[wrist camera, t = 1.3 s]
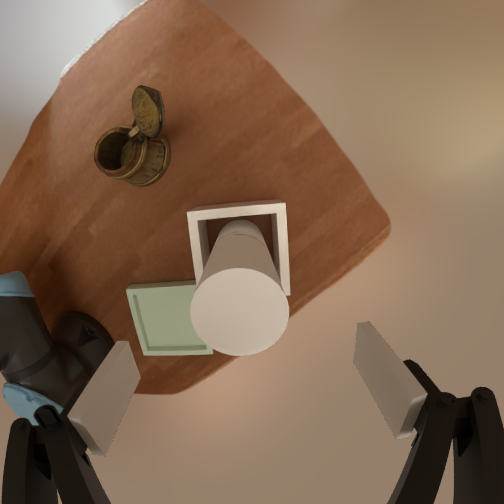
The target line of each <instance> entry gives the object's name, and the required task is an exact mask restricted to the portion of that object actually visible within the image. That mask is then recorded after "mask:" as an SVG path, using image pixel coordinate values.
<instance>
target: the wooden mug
mask: <svg viewBox="0 0 504 504" xmlns="http://www.w3.org/2000/svg"><path fill="white" fill-rule="evenodd" d="M132 110H133V114H134V118H135V120H134V123H133V124H132V126H128V125H124V126H119V127H116V128H113V129H110V130H108V131H107V132H105V133H104V134H103V135H102V136H101V137H100V139H99V140H98V141H97V143H96V146H95V152H94V161H95V163H96V165H97V167H98V168H99V169H100V170H101V171H102V172H103V173H105V174H106V175H107V176H109V177H111V178H113V179H122V180H125V181H127V182H129V183H131V184H133V185H136V186H148V185H150V184H153V183H154V182H156V181H157V180H158V179H159V178H161V176H162V175H163V174H164V173H165V171H166V169H167V168H168V165H169V162H170V148H169V144H168V141H167V139H166V138H165V137H164V136H163V135H162V131H163V127H164V105H163V100H162V96H161V92H160V91H158V90H156V89H153V88H150V87H147V86H142V85H140V86H138V87H137V88H136V89H135V91H134V93H133V97H132Z"/></svg>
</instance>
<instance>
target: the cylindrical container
mask: <svg viewBox="0 0 504 504" xmlns="http://www.w3.org/2000/svg"><path fill="white" fill-rule="evenodd" d="M190 316H191V321H192V325H193V328H194V329H195V331H196V333H197V335H198V336H199V337H200V338H201V339H202V341H203V342H204V343H206V344H207V345H208V346H210V347H211V348H213V349H215V350H217V351H219V352H221V353H224V354H228V355H234V356H246V355H252V354H256V353H259V352H261V351H264V350H265V349H267V348H269V347H270V346H272V345H273V344H274V343H275V342H276V341H277V340H278V339H279V338H280V337H281V335H282V334H283V333H284V330H285V328H286V326H287V323H288V319H289V306H288V301H287V298H286V295H285V293H284V290H283V287H282V285H281V282H280V279H279V277H278V274H277V271H276V269H275V266H274V264H273V261H272V259H271V256H270V253H269V251H268V248H267V246H266V243H265V240H264V238H263V235H262V233H261V231H260V229H259V228H258V227H257V226H256V225H255V224H254V223H252V222H250V221H248V220H243V219H238V220H233V221H231V222H229V223H227V224H226V225H225V226H224V227H223V228H222V229H221V231H220V233H219V235H218V238H217V240H216V242H215V245H214V247H213V249H212V252H211V254H210V256H209V259H208V261H207V264H206V266H205V268H204V271H203V273H202V276H201V278H200V281H199V283H198V286H197V288H196V290H195V293H194V295H193V299H192V302H191V307H190Z"/></svg>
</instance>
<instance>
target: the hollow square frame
mask: <svg viewBox="0 0 504 504" xmlns="http://www.w3.org/2000/svg"><path fill="white" fill-rule="evenodd" d="M259 214H271V225H272V239H273V254H274V266H275V269H276V271H277V274H278V277H279V279H280V282H281V285H282V287H283V290H284V293H285V295H286V296H287V295H290V276H289V255H288V237H287V220H286V205H285V203H284V202H282V201H280V200H278V199H272V200H259V201H247V202H236V203H226V204H216V205H206V206H197V207H195V208H193V209H191V210H190V211H188V212H187V218H188V226H189V234H190V242H191V250H192V257H193V264H194V271H195V278H196V284H197V286H198V283H199V281H200V278H201V276H202V273H203V271H204V268H205V266H206V264H207V261H208V259H209V256H210V252H209V243H208V235H207V226H206V219H216V218H226V217H237V216H248V215H259Z"/></svg>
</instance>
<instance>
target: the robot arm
mask: <svg viewBox="0 0 504 504" xmlns="http://www.w3.org/2000/svg"><path fill="white" fill-rule="evenodd" d="M34 297H35V295H34V294H33V293H32V291H31V289H30V286H29V284H28V281H27V279H26V277H25V275H24V274H23V273H22V272H20V271H12V272H9V273H5V274H2V275H0V371H1V373H2V375H3V376H4V378H5V379H6V381H7V383H5V384H4V387H3V390H2V392H3V395H4V398H5V400H6V402H7V403H8V405H9V406H10V407H11V408H12V410H13V411H14V412H15V413H16V414H17V415H18V416H19V417H20V418H19V419H17V420H15V421H14V422H13V423H12V425H11V429H10V434H9V440H8V445H7V451H6V458H5V466H4V474H3V486H2V504H58V496H57V490H58V493H59V495H60V498H61V501H62V504H111V503H110V501H109V499H108V497H107V495H106V493H105V491H104V490H103V488H102V486H101V484H100V481H99V479H98V478H97V475H96V473H95V471H94V469H93V467H92V465H91V462H90V460H89V457H88V455H87V454H86V453H85V451H86V449H87V447H88V448H89V449H90V451H91V452H92V453H93V454H95V455H99V456H103V457H106V456H107V453H108V451H109V448H110V446H111V444H112V441H113V439H114V437H115V434H116V432H117V429H118V427H119V425H120V423H121V420H122V418H123V416H124V413H125V411H126V409H127V407H128V404H129V402H130V400H131V398H132V395H133V393H134V391H135V389H136V387H137V385H138V383H139V380H140V378H141V377H140V374H139V371H138V368H137V366H136V363H135V360H134V357H133V354H132V351H131V348H130V345H129V341H117V342H116V343H115V345H114V342H113V340H112V338H111V337H110V335H109V333H108V332H107V331H106V330H105V328H104V327H103V326H102V325H101V324H100V323H99V322H97V321H96V320H95V319H93V318H92V317H90V316H88V315H86V314H83V313H80V312H68V313H66V314H64V315H63V316H61V317H60V318H59V319H58V320H57V321H56V322H55V324H54V326H53V329H52V332H51V334H49V331H48V329H47V327H46V325H45V322H44V320H43V318H42V315H41V313H40V310H39V308H38V305H37V303H36V300H35V298H34ZM353 362H354V364H355V366H356V368H357V369H358V371H359V373H360V375H361V376H362V378H363V380H364V382H365V383H366V385H367V387H368V389H369V391H370V392H371V394H372V396H373V398H374V400H375V401H376V403H377V405H378V407H379V409H380V411H381V413H382V414H383V416H384V418H385V420H386V422H387V424H388V426H389V427H390V429H391V431H392V433H393V435H394V437H395V439H396V440H398V439H401V438H403V437H406V436H409V435H411V433H412V430H413V428H415V429H416V431H417V435H416V437H415V439H414V441H413V443H412V445H411V446H412V448H411V451H410V453H409V456H408V459H407V461H406V464H405V466H404V468H403V471H402V473H401V476H400V478H399V480H398V482H397V484H396V487H395V489H394V491H393V493H392V495H391V497H390V499H389V501H388V503H387V504H433V503H434V501H435V498H436V495H437V492H438V489H439V486H440V483H441V479H442V476H443V473H444V470H445V466H446V462H447V458H448V454H449V450H450V446H451V441H452V439H453V451H454V500H453V504H504V428H503V424H502V420H501V416H500V413H499V409H498V406H497V402H496V399H495V395H494V394H493V392H492V391H491V390H490V389H488V388H486V387H478V388H476V389H474V390H473V392H472V393H471V396H469V397H463V398H456V397H455V396H454V395H452V394H450V393H447V392H441V391H440V390H439V389H438V387H437V386H436V385H435V384H434V383H433V381H432V380H431V379H430V378H429V377H428V376H427V374H426V373H425V372H424V371H423V370H422V368H421V367H420V366H419V365H418V364H417V363H415V362H413V361H412V360H410V359H409V360H405V361H401V359H400V358H399V357H398V355H397V354H396V353H395V352H394V350H393V349H392V348H391V347H390V345H389V344H388V343H387V342H386V341H385V339H384V338H383V337H382V336H381V335H380V333H379V332H378V331H377V330H376V329H375V327H374V326H373V325H372V324H371V322H369V321H368V322H362V323H357V333H356V343H355V352H354V360H353Z"/></svg>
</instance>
